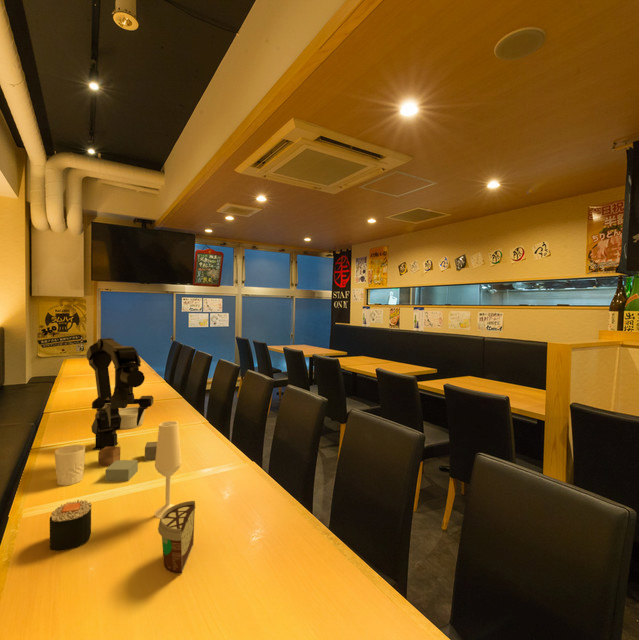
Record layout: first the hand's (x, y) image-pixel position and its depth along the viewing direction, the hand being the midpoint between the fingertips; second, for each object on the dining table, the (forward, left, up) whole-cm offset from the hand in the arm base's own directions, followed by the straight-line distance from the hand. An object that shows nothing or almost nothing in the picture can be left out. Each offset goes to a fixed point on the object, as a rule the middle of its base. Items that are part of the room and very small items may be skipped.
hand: (123, 425), depth 132 cm
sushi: (+10, -46, -13) cm, 48 cm away
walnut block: (-3, -3, -12) cm, 13 cm away
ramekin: (-15, +38, -13) cm, 43 cm away
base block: (+6, -13, -13) cm, 19 cm away
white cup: (-9, -16, -13) cm, 22 cm away
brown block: (+10, +2, -12) cm, 16 cm away
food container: (+36, -53, -13) cm, 65 cm away
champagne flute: (+28, -34, -13) cm, 45 cm away
